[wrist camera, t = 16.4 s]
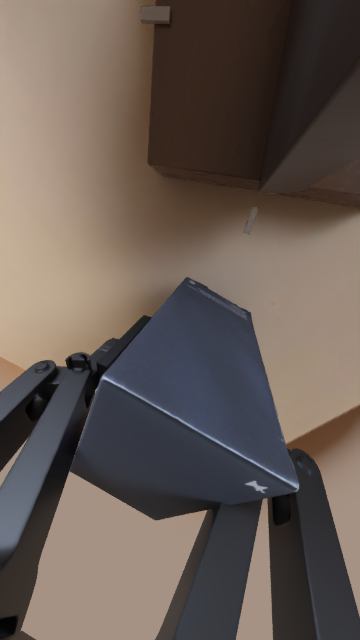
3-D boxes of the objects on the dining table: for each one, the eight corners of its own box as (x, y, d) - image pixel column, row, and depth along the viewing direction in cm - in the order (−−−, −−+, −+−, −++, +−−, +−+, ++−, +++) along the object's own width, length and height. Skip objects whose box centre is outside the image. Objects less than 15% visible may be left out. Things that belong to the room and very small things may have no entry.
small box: (182, 271, 13) (86, 370, 4) (253, 312, 13) (324, 497, 4) (140, 354, 18) (60, 476, 9) (190, 382, 18) (160, 526, 9)
